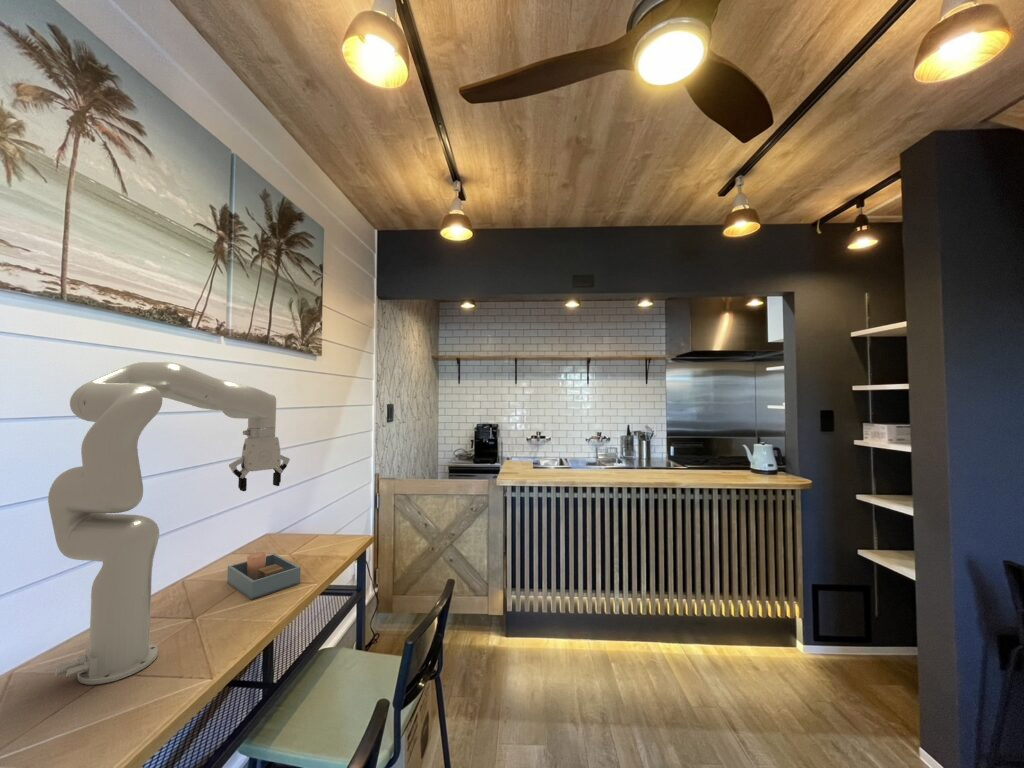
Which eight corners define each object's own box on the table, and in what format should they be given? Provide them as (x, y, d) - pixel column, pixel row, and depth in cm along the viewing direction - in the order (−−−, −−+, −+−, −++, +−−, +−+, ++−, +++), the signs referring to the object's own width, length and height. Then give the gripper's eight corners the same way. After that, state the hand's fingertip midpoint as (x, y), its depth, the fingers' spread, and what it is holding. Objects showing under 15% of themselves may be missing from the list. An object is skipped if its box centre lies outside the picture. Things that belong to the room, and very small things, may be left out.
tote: (251, 600, 119) (252, 582, 119) (227, 582, 130) (227, 566, 130) (300, 583, 130) (300, 567, 130) (274, 568, 141) (274, 553, 141)
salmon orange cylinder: (246, 576, 133) (246, 554, 133) (264, 573, 136) (265, 550, 136) (247, 582, 129) (248, 559, 129) (266, 578, 132) (267, 555, 132)
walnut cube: (257, 586, 127) (258, 569, 127) (275, 580, 131) (275, 563, 131) (265, 590, 124) (265, 573, 124) (282, 584, 128) (283, 568, 128)
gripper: (235, 436, 125) (233, 494, 124) (295, 432, 139) (293, 485, 138) (225, 434, 129) (223, 490, 129) (284, 431, 143) (283, 482, 143)
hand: (260, 488), depth 134 cm, fingers open, 9 cm apart
